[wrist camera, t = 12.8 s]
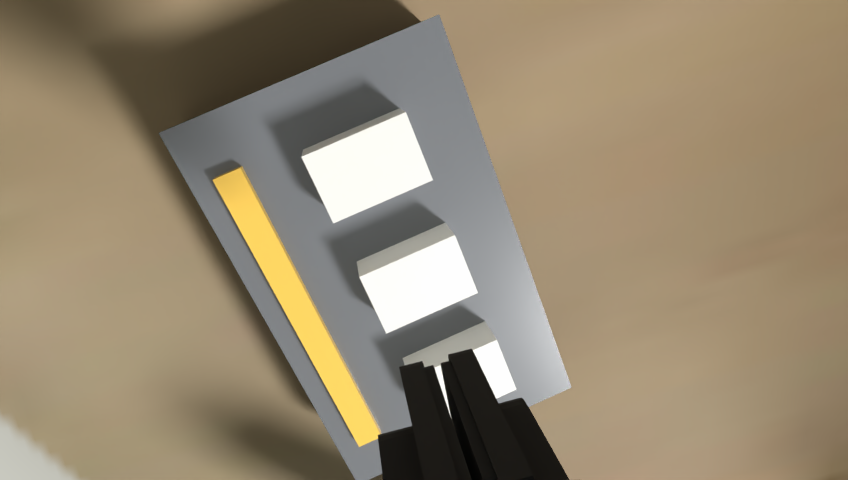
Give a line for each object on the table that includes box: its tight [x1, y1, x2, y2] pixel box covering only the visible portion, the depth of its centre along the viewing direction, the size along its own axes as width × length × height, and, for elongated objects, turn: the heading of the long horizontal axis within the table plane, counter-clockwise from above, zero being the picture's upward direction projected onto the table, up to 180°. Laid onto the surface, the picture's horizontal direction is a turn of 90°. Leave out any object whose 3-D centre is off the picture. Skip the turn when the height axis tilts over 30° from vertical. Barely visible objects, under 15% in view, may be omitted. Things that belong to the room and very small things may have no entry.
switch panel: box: [159, 15, 571, 480], centre depth 22 cm, size 16×10×6 cm, turn 22°
